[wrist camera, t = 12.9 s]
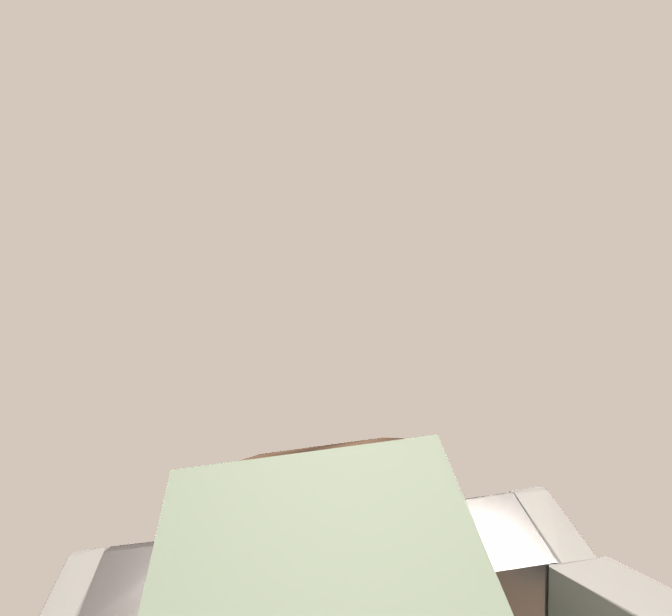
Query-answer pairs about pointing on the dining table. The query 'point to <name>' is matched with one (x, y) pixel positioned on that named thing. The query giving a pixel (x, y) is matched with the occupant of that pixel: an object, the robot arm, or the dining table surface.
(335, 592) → the sage block
